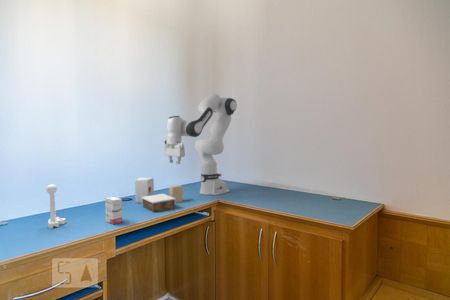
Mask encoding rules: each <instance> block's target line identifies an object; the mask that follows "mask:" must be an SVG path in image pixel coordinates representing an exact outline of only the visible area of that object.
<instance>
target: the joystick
mask: <svg viewBox="0 0 450 300" xmlns="http://www.w3.org/2000/svg"><path fill="white" fill-rule="evenodd" d="M45 189H46V192H47V193H48V195H49V207H50V208H49V213H50V214H49V215H50V218H49V219H48V220H47V227H48V228H49V229H51V230H52V229H54V227H56V228H57V227H59V226H61V225H65V224H66V223H67V219H66V218H65V217H63V218H62V217H61V218H60V216H57V214H56V211H57V210H56V199H55V193H56V192H57V190H58V187H57V185H56V184H49V185H47V186H46V188H45Z"/></svg>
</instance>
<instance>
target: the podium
mask: <svg viewBox="0 0 450 300" xmlns="http://www.w3.org/2000/svg"><path fill="white" fill-rule="evenodd" d="M142 199H143V203H142V208H145V209H147V211H151V212H153V213H158V212H163V211H167V210H173V209H175V203H174V200H176V198H174V197H171V196H169V195H167V194H165V193H158V194H154V195H152V196H145V197H142Z"/></svg>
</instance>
